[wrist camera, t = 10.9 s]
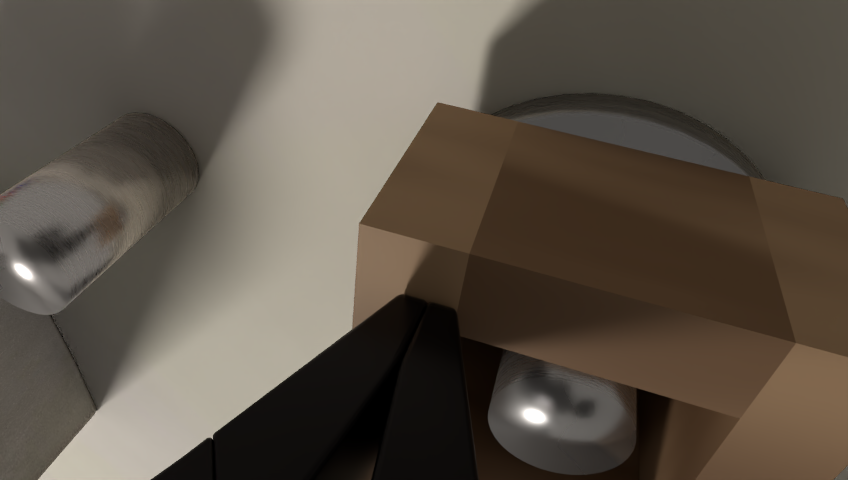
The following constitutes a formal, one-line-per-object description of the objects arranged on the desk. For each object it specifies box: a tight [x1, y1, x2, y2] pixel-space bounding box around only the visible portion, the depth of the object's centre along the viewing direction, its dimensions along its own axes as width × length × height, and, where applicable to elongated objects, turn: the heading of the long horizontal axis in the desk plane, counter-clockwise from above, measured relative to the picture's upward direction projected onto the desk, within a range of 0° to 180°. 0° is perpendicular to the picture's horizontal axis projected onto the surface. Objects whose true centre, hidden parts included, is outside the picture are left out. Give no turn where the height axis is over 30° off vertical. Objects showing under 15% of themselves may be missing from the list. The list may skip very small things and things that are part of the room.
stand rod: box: [0, 113, 199, 315], centre depth 13 cm, size 2×2×4 cm
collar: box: [352, 103, 848, 480], centre depth 11 cm, size 7×7×4 cm
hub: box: [488, 93, 765, 475], centre depth 12 cm, size 8×8×4 cm
